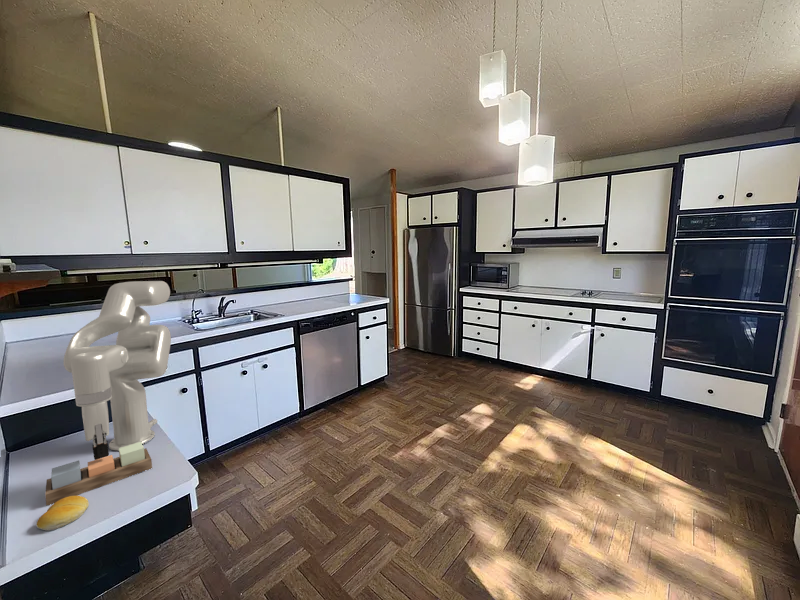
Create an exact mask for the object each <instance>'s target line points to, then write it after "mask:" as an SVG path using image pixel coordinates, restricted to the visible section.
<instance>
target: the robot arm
mask: <svg viewBox="0 0 800 600" xmlns="http://www.w3.org/2000/svg"><path fill="white" fill-rule="evenodd" d="M170 295H171V289H170V286H169V284H168V283H167V282H165V281H163V280H148V281H147V280H145V281H143V280H140V281H136V280H135V281H125V282H119V283H114V284H113V285H111V286H110V287H109V288H108V290H107V293H106V296H105V298H104V301H103V304H102V307H101V309H100V313H99V314H98V317H96V318H94V319H93V320H91V321H90V322H88V323H87V324H85V325H84V326H83V327H81V328H80V329H79V330H77V331H76V332H75V333H74V334H73V336H71V338H70V340H69V342H68V345H67V347H66V351H65V353H64V356H63V367H64V369H65V370H66V371H67V372H69V373H71V375H72V383H73V384H72V385H73V390H74V398H75V405H76V407H81V417H82V422H83V431H84V438H85V441H86V442H90V441H92V443H93V444H92V445H91V446H92V453H93V459H94V460H97V459H100V458H103V457H106V456H110V450H111V451H119V448H121V447H125V446H128V445H131V444H135V443H138V442H142V444H143V445H145V444H146V443H145V442H147V441H149V440H151V439H152V438H153V437H154V438H155V436H156V434H155V433H156V432H155V430H152V429H151V428H152V427H153V426H154V425H156V424H157V423H158V419H156V418H153V419H152V420H150V421H149V415H148V404H147V394H146V393H147V392H146V389H145V387H144V385H143V384H142V383H141V382H140V381H139V380H145V379H146V380H147V379H153V378H154V379H155V378H159V377H162V376H163V375H164V374H166V371H167V368H168V365H169V364H168V363H169V358H170V357H169V356H170V351H171V345H172V343H171V342H172V337H171V332H170V329H169V328H168V327H167V326H166V325H164V324H163V325H162V324H152V325H150V323H151V316H150V315H149V313H148V311H146V310H145V309H144V308H143V307H147V306H157V305H158V306H159V305H161V304H162V305H163V304H164V303H166V302H168V301H169V299H170ZM116 333H117V336H116V342H115V344H111V345H110V344H108V345H96V346H91V345H92V344H93V343H96V342H97V341H98V340H101V339H103V338H104V337H109V336H110V335H113V334H116ZM109 401H110V410H111V417H112V427H113V428H112V429H113V437H114V438H113V439H112V440H111V441H110V442H109V443H108V440H107V437H108V436H109V435H110V420H109V407H108V402H109ZM154 435H155V436H154ZM154 438H153V439H154ZM153 439H152V440H153ZM152 440H151V441H152ZM149 442H150V441H149ZM144 443H145V444H144ZM147 443H148V442H147Z"/></svg>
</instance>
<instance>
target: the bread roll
mask: <svg viewBox="0 0 800 600" xmlns="http://www.w3.org/2000/svg"><path fill="white" fill-rule="evenodd" d="M89 505H90V503H89V500H88V499H87V498H86V497H84V496H81V495H76V496H69V497H65V498H63V499H61V500H59V501H57V502H55V503H54V504H51V505H50V506H49V507H48V508H47V510H46V511H45V512H44V513H43V514H42V515H41V516H40V517H39V518H38V519H37V521H36V527H37V528H38V529H40V530H43V531H53V530H57V529H59V528H62V527H64V526H67V525H69V524H71V523H73V522H75V521H77V520H78V519H80V518H81V517H82V516H83V515H84V513H85V512H86V510H87V509H88V508H89Z"/></svg>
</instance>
